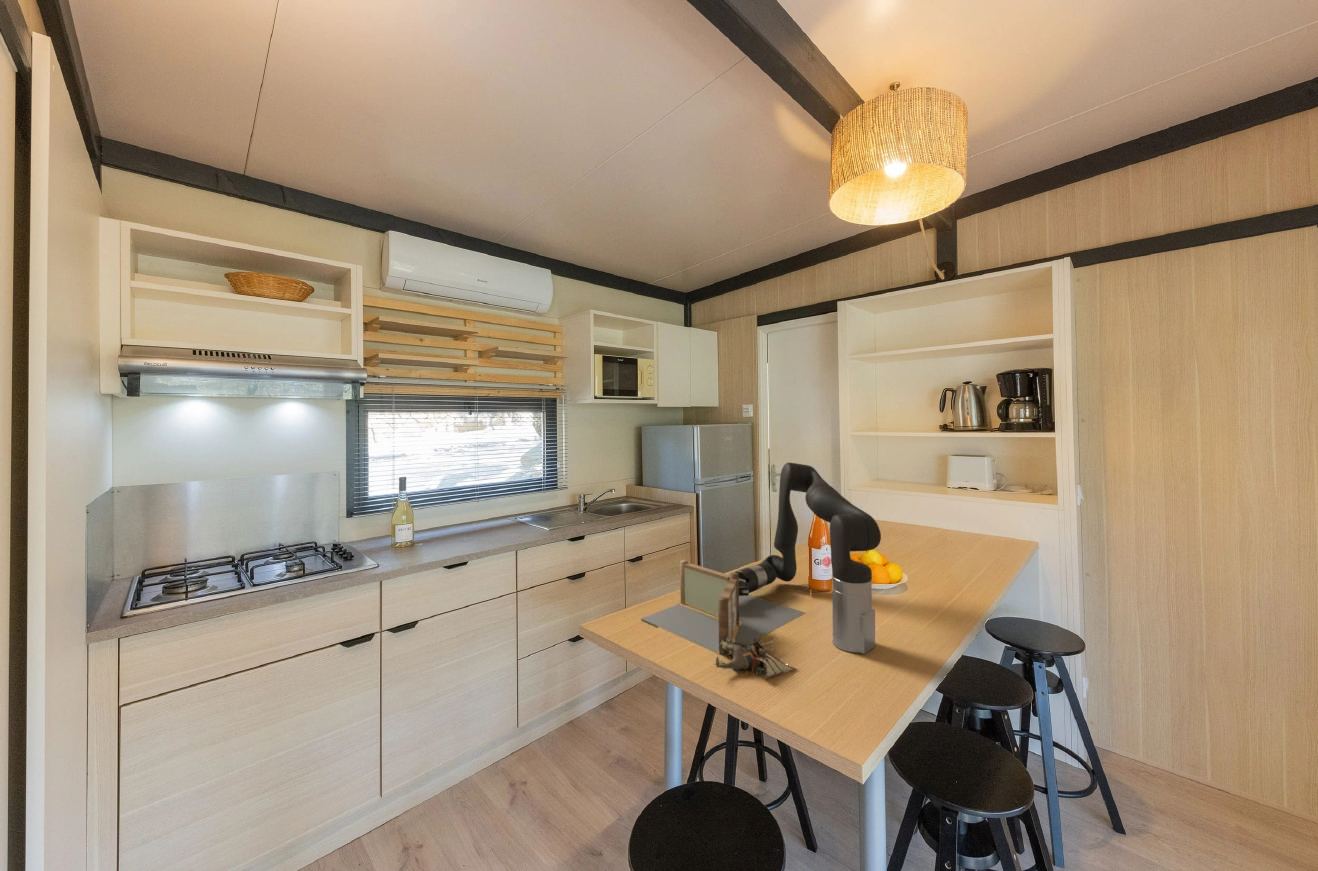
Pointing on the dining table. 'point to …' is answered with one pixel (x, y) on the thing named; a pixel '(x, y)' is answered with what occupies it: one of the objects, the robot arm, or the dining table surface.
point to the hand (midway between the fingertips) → (712, 593)
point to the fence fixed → (728, 611)
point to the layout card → (704, 627)
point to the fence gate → (701, 587)
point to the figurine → (753, 658)
